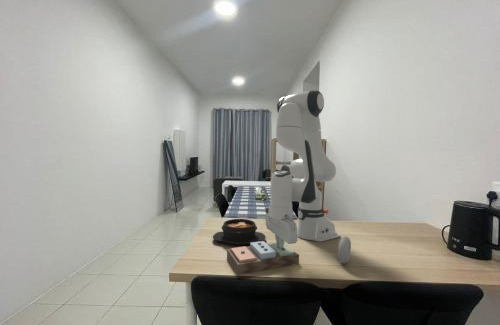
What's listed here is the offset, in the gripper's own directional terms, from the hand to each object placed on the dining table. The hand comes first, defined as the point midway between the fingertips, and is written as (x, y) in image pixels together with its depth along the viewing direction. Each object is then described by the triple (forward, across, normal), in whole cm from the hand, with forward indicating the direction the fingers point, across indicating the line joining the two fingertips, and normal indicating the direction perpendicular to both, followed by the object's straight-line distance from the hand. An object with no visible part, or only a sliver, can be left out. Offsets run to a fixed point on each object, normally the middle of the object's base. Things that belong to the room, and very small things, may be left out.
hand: (279, 246), depth 96 cm
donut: (+5, -11, -22) cm, 25 cm away
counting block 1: (+4, 0, +16) cm, 16 cm away
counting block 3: (+4, 0, 0) cm, 4 cm away
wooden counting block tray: (+5, 0, +8) cm, 9 cm away
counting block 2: (+2, 0, +8) cm, 8 cm away
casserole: (+5, +23, +9) cm, 26 cm away
